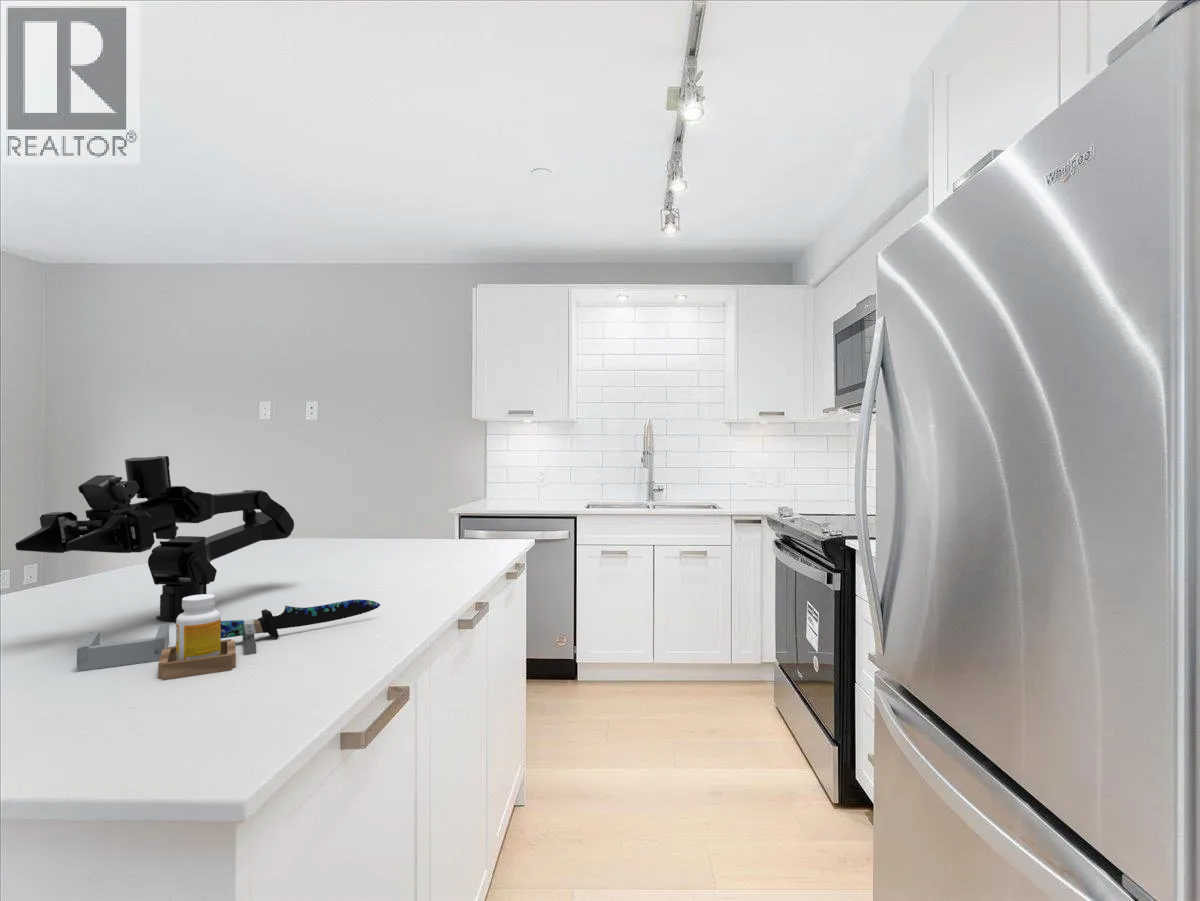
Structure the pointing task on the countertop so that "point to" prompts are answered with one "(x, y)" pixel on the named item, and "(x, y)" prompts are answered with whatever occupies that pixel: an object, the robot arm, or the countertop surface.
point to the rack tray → (120, 650)
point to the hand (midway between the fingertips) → (41, 546)
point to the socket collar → (196, 662)
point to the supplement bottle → (198, 628)
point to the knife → (296, 618)
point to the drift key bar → (249, 644)
